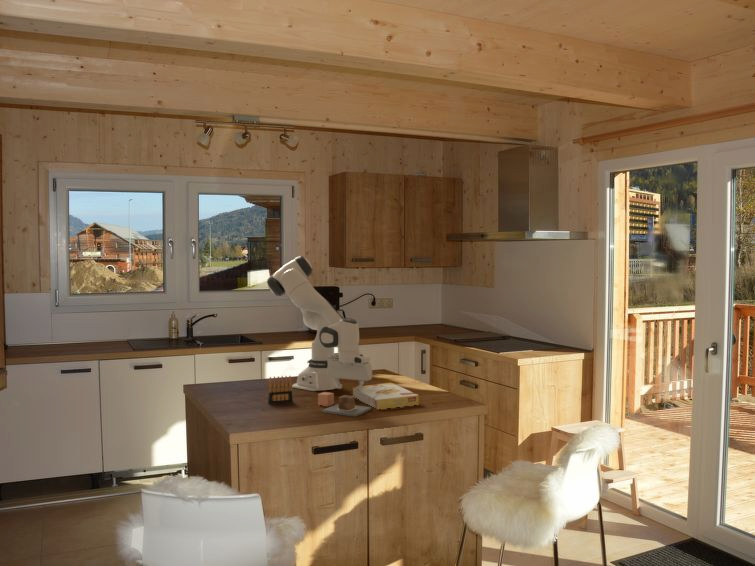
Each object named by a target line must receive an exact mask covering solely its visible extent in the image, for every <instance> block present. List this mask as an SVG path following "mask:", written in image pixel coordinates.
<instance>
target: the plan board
mask: <svg viewBox="0 0 755 566" xmlns="http://www.w3.org/2000/svg"><path fill="white" fill-rule="evenodd" d="M369 411H372V407H371V406H365V405H364V406H363V405H356V404H355V408H353V409H351V410H342V409H339V402H338V403H336V404H333V405H330V406H328V407H327V408H324V409H322V410H321V413H322V412H323V414H331V415H337V414H338V415H339V416H346V417H354V418H356V417H359V416H361V415H363V414H364V413H367V412H369Z"/></svg>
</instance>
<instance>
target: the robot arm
mask: <svg viewBox="0 0 755 566" xmlns="http://www.w3.org/2000/svg"><path fill="white" fill-rule="evenodd" d="M312 273H313V266H312V264H311V262H310V260H309V259H308V258H306V257H304V256H303V255H298V256H297V257H294V259H292V260H290V261H288V262H286V263H285V264H284V265H282V267H280V268H279V269H278V270H276V271H275V272H274V273H273V274H272V275H270V276H269V277H268V279H267V281H266V283H267V287H268V289H269V291H270V293H272V294H274V295H275V296H277V297H282V296H284V295H285V294H286V295H287V296H288V298H289V299H290V301H291V302H292V303H293V305H294V306H295V307H296V308H298V309H299V310H300V311H301V314H302V321H303V324H304V326H306V327H307V328H309V329H310V330H314V331H316V336H315V338H314V340H313V341H312V342H311V358H310V359H309V360H307V361H306V364H308V365H307V367H305V369H303V370H302V371H301V372H300V373H298V374H297V379H296V383H292V389H294V388H295V389H301V390H305V391H311V392H317V391H318V392H319V391H329V390H335V389H338V390H341V389H342V388H343V384H342V383H341V382H340V380H341V379H342V380H352V381H353V380H354V381H358V383H359V384H358V385H357V386H356V387H357V391H361V390H362V386H364V384H365V382H369V381H371V379H372V378H373V367H372V363H371V362H370V361H371V357H370V356H369V355H367V354H364V353H362V352H361V351H360V347H359V342H360V328H359V323H358V321H357V320H356V319H354V318H349V317H343V316H342V313H340V312H338V310H336V308H335V307H334V306H333V305H332V304H331V302H330V301H328V299H326V297H324V296H322V294H320V292H318V291H317V290H316V289H315V288H314V286H313V285H312V283H311V282H310V281H309V280H308V279H307V278H309V277H310V276H311V274H312ZM335 348H337V349H338V351H337V352H338V355H335Z"/></svg>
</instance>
